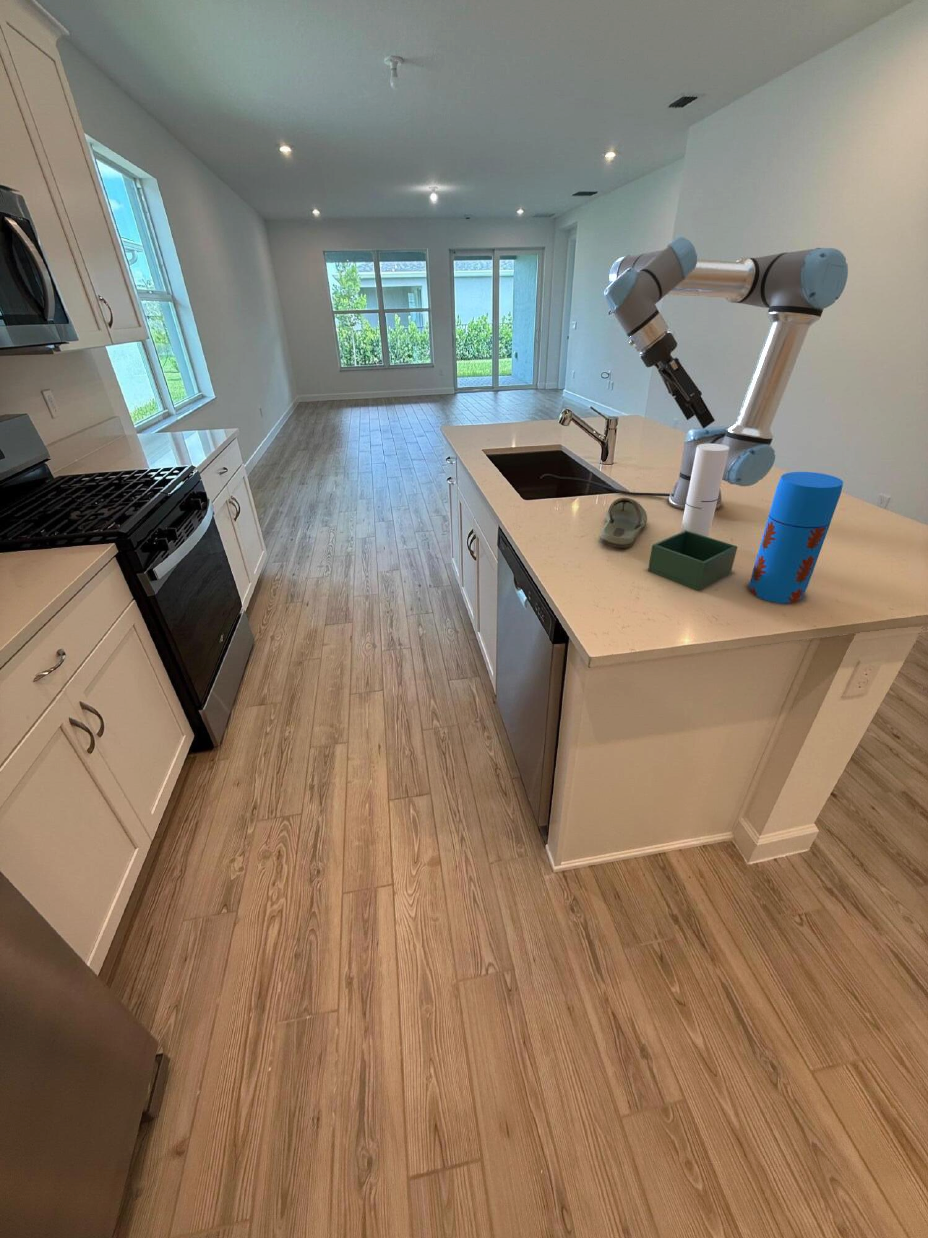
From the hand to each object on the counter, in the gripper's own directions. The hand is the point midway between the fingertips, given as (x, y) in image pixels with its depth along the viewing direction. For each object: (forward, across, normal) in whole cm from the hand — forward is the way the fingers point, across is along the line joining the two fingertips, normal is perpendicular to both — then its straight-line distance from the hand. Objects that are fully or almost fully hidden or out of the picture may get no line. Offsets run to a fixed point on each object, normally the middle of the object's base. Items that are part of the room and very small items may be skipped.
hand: (700, 420), depth 120 cm
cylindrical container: (+27, -1, -16) cm, 32 cm away
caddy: (+25, +16, -21) cm, 36 cm away
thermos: (+35, +25, -8) cm, 44 cm away
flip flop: (+16, -10, -30) cm, 35 cm away
